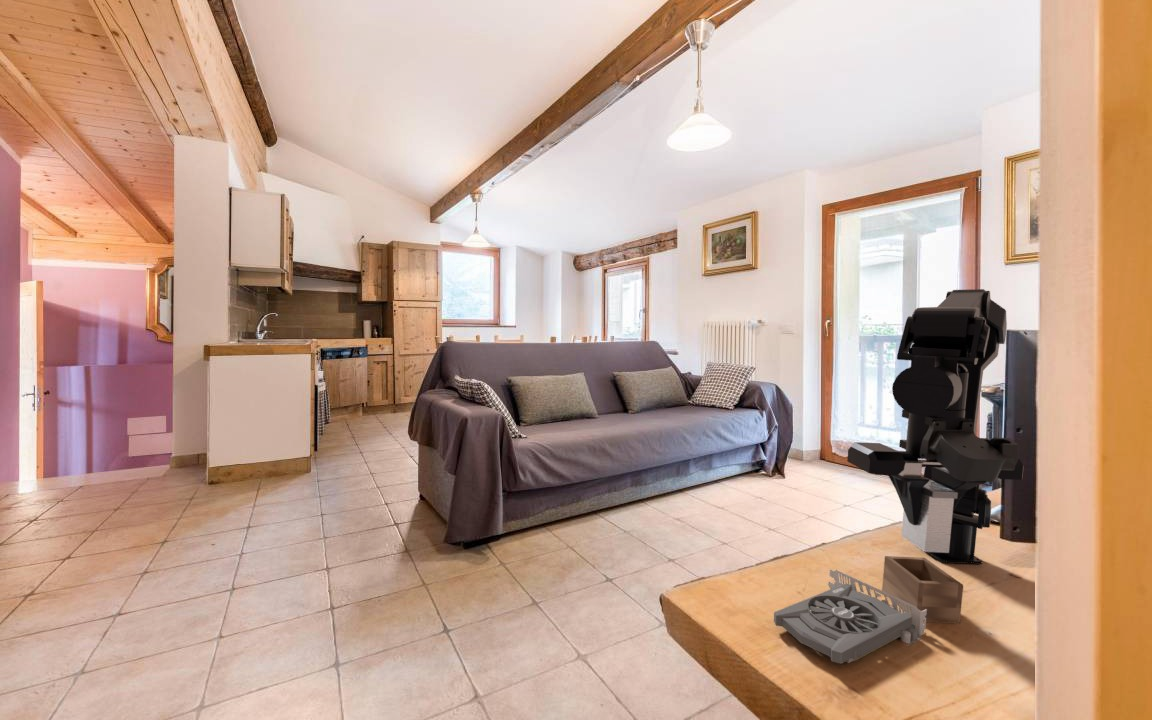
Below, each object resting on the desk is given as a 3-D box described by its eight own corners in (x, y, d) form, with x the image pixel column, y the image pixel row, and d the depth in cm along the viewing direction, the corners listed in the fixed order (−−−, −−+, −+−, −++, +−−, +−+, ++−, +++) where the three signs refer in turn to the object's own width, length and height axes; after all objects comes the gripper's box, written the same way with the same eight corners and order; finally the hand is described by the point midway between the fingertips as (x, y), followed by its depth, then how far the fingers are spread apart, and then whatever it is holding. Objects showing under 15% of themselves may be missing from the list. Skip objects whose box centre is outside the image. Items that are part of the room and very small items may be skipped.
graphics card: (834, 564, 68) (930, 608, 57) (833, 590, 68) (928, 638, 57) (751, 595, 60) (844, 652, 49) (750, 624, 60) (842, 687, 49)
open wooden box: (921, 592, 67) (924, 557, 66) (959, 623, 60) (963, 585, 59) (882, 590, 67) (884, 556, 66) (915, 621, 60) (919, 583, 60)
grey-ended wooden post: (899, 534, 65) (903, 477, 65) (921, 535, 65) (926, 477, 65) (927, 553, 60) (933, 491, 59) (951, 554, 60) (957, 492, 59)
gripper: (903, 416, 53) (892, 551, 55) (1075, 422, 53) (1059, 558, 54) (849, 400, 64) (841, 512, 66) (991, 404, 64) (979, 517, 65)
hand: (925, 524), depth 62 cm, fingers closed on grey-ended wooden post, 3 cm apart
